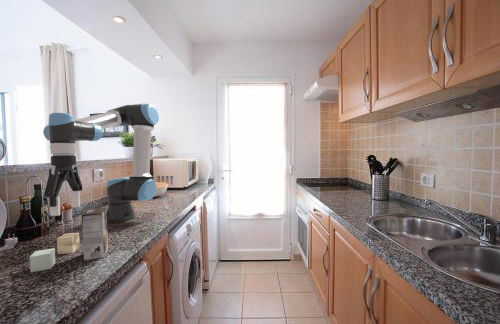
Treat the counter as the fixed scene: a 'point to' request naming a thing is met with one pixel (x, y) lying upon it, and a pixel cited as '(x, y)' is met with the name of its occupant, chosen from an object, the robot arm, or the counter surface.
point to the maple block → (68, 243)
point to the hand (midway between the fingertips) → (66, 211)
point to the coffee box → (94, 233)
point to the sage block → (42, 260)
